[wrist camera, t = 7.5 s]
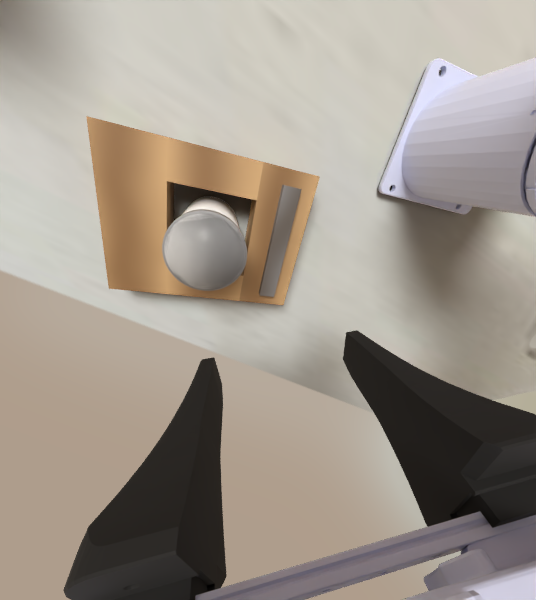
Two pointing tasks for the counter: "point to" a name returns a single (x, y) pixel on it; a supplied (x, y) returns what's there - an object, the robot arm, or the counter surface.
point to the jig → (160, 209)
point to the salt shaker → (205, 245)
